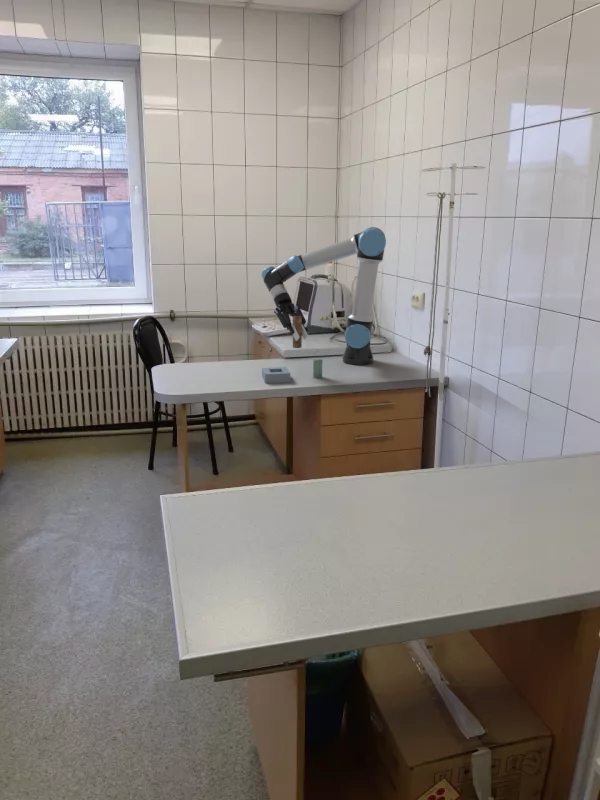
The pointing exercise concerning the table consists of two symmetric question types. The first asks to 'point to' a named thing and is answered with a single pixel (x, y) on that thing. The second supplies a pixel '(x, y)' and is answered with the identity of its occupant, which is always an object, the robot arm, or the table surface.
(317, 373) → the green pin short
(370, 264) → the robot arm
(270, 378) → the socket block
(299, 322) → the walnut pin long
